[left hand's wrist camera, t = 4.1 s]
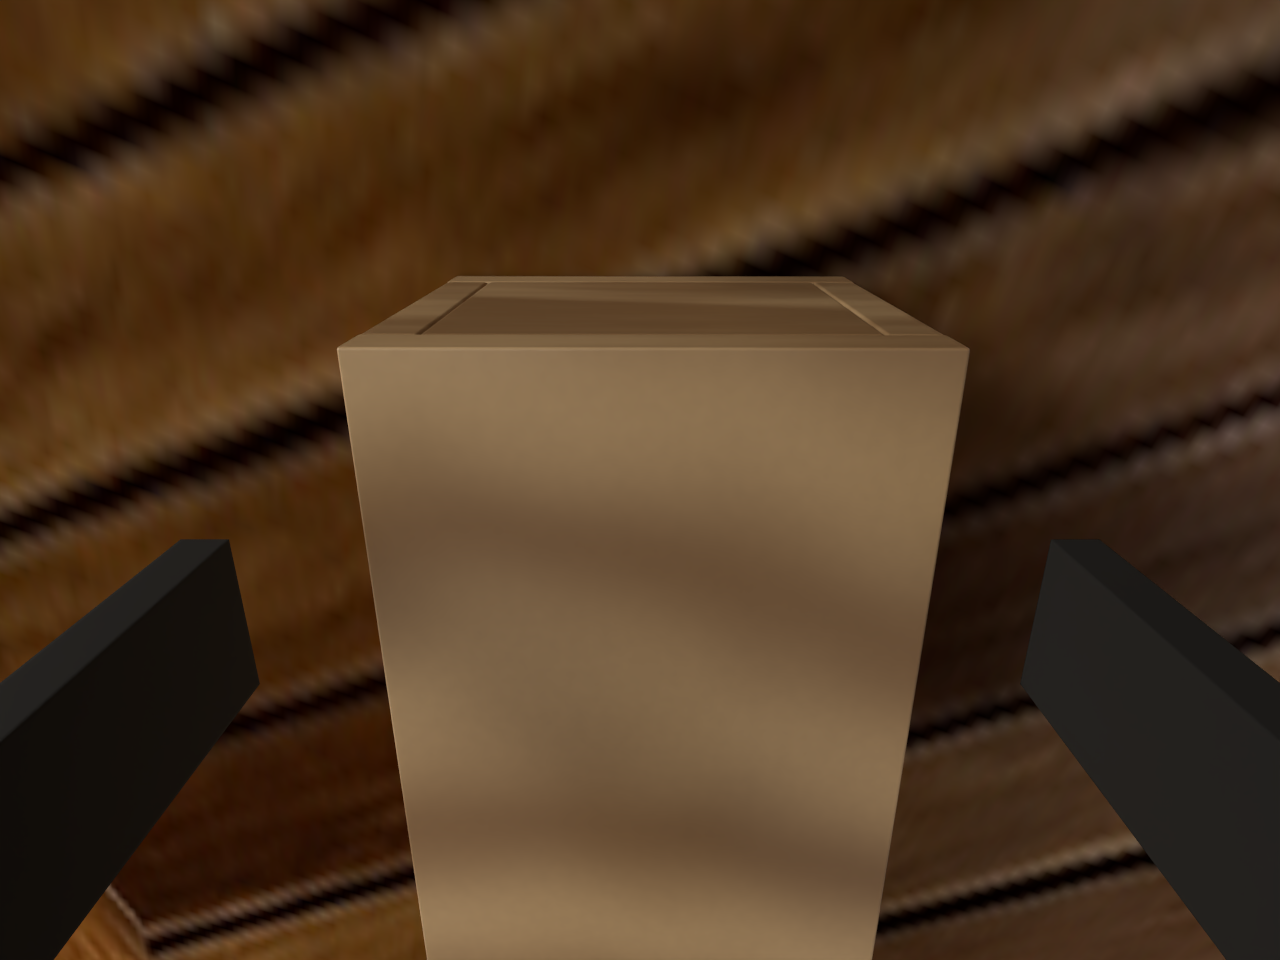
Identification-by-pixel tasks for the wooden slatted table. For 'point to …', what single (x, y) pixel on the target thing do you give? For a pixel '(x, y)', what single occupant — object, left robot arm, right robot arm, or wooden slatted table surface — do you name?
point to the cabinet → (651, 604)
